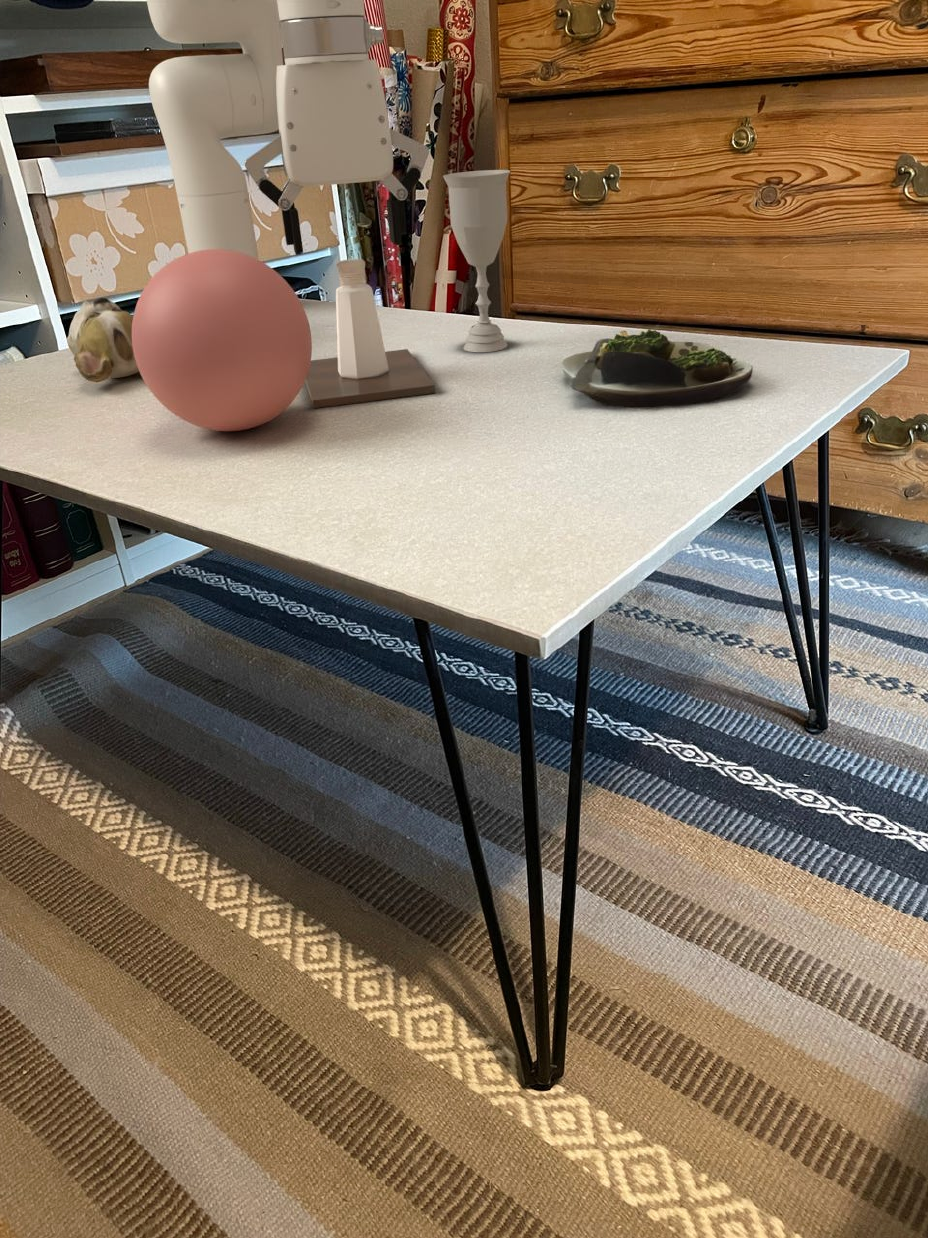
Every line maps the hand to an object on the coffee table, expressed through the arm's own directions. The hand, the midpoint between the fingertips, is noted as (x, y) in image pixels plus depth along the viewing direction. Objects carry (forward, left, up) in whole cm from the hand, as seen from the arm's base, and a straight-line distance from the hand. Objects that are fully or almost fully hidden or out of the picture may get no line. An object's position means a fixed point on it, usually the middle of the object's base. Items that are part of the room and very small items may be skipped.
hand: (347, 247), depth 93 cm
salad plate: (+14, +26, -13) cm, 33 cm away
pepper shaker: (0, 0, -12) cm, 12 cm away
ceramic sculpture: (-15, -26, -13) cm, 33 cm away
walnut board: (0, 0, -13) cm, 13 cm away
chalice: (-8, +15, -13) cm, 21 cm away
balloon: (+9, -14, -13) cm, 21 cm away
